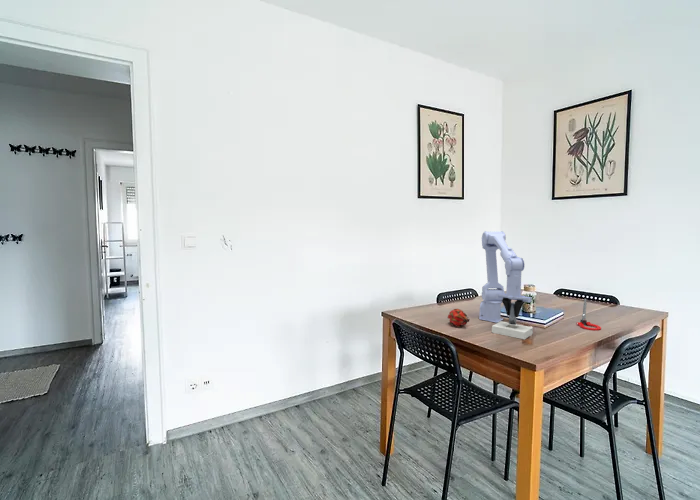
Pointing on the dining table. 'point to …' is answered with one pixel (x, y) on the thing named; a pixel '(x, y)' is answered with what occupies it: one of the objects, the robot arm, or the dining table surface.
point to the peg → (512, 314)
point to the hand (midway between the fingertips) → (512, 316)
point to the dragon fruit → (458, 317)
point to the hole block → (512, 330)
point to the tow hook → (584, 321)
